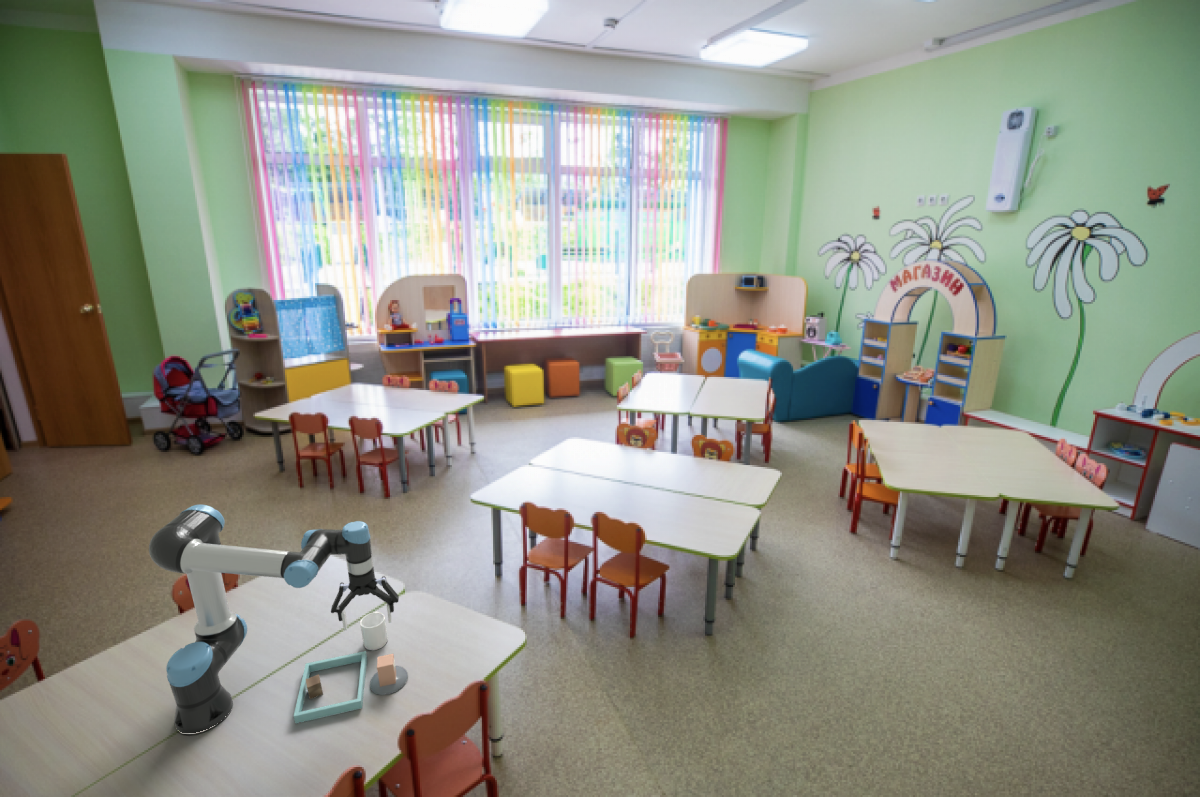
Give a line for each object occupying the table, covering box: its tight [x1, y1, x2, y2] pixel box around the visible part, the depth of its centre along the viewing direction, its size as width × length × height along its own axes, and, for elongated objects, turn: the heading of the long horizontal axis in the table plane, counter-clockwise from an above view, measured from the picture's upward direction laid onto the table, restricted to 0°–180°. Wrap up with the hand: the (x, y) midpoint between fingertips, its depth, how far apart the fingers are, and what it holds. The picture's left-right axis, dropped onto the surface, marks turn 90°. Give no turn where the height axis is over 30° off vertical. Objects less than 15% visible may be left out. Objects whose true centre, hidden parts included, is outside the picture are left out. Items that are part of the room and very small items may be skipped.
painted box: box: [376, 653, 396, 687], centre depth 192 cm, size 5×5×8 cm
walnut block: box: [306, 674, 324, 700], centre depth 188 cm, size 4×4×5 cm
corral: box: [293, 650, 368, 724], centre depth 190 cm, size 19×22×3 cm
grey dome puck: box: [369, 665, 409, 696], centre depth 193 cm, size 12×12×1 cm
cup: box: [359, 611, 389, 651], centre depth 210 cm, size 8×12×10 cm
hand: (368, 623), depth 187 cm, fingers open, 13 cm apart
